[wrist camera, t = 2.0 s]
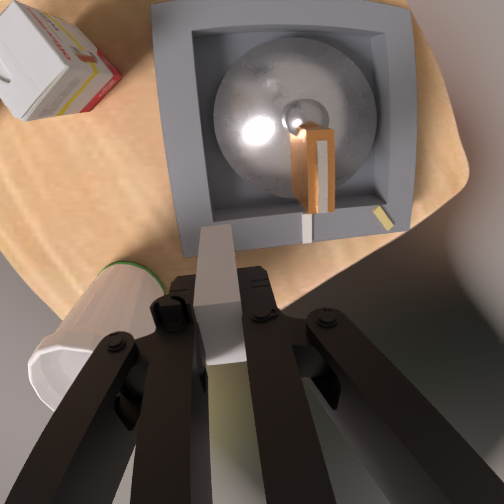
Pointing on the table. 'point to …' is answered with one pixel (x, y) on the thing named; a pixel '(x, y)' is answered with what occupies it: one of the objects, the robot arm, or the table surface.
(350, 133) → the dial
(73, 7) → the table surface
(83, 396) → the robot arm
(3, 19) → the ink box
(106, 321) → the cup
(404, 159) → the housing
